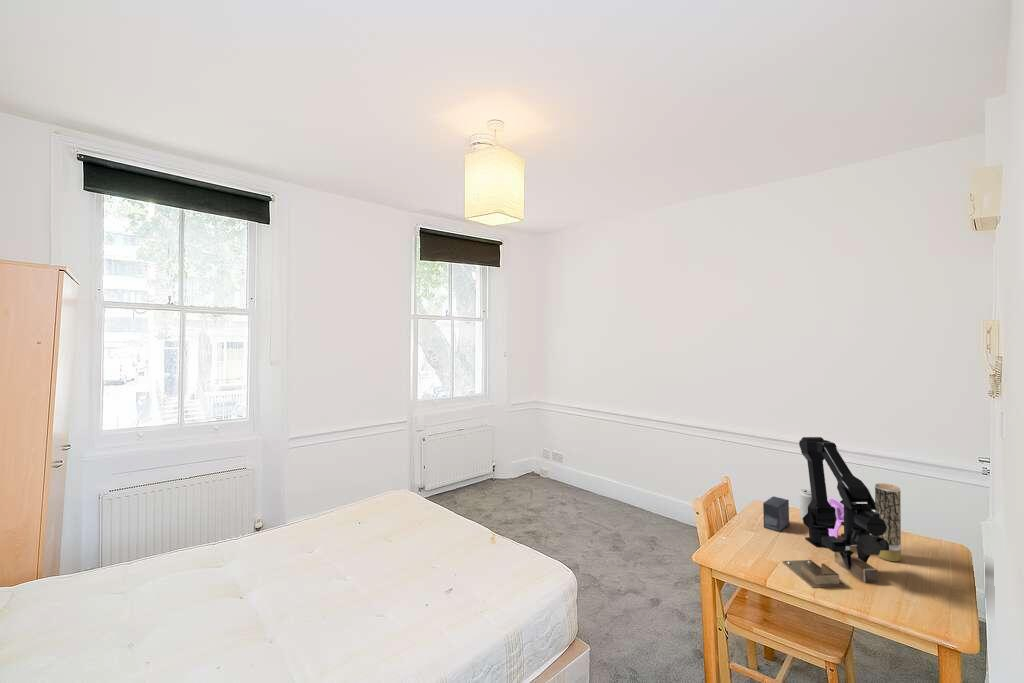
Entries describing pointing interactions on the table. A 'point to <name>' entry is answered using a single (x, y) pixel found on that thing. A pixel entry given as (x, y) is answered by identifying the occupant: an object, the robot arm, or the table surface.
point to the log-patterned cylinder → (890, 519)
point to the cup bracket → (814, 573)
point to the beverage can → (804, 501)
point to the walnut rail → (859, 568)
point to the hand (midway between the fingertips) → (855, 568)
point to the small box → (776, 513)
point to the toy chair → (837, 516)
